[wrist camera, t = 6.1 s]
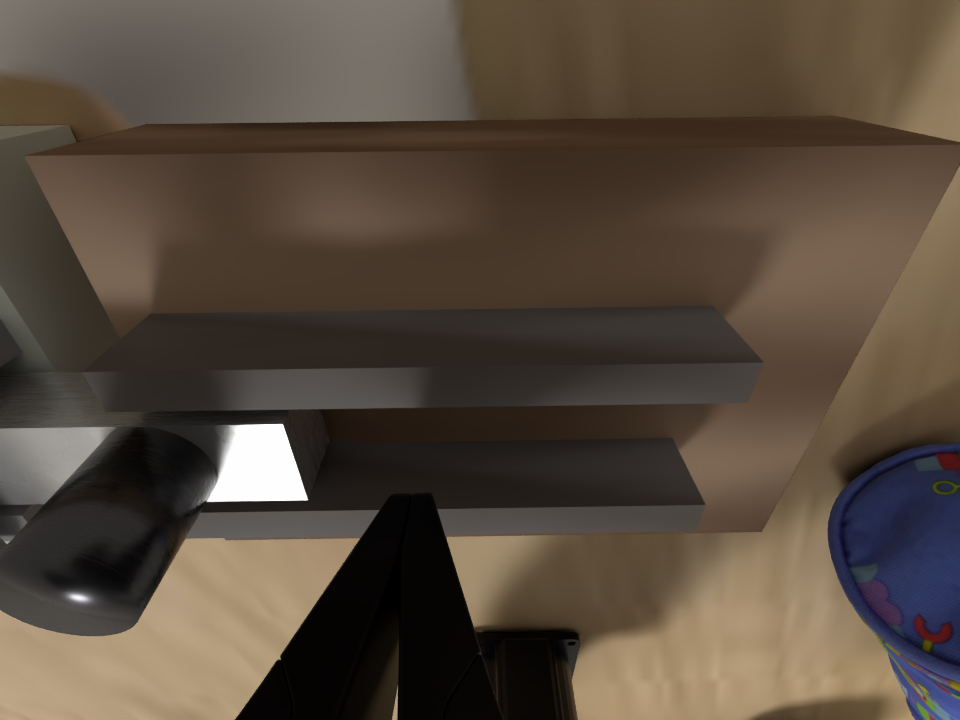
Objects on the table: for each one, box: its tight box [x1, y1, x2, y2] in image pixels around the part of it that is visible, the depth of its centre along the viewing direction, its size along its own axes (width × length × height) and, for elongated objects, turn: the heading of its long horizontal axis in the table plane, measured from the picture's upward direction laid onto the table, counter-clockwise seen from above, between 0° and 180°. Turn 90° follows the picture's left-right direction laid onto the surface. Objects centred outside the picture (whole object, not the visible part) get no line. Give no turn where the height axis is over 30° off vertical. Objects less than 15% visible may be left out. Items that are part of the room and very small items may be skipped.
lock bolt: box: [0, 372, 329, 636], centre depth 10 cm, size 12×2×5 cm, turn 91°
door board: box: [24, 116, 960, 540], centre depth 13 cm, size 12×18×6 cm, turn 91°
